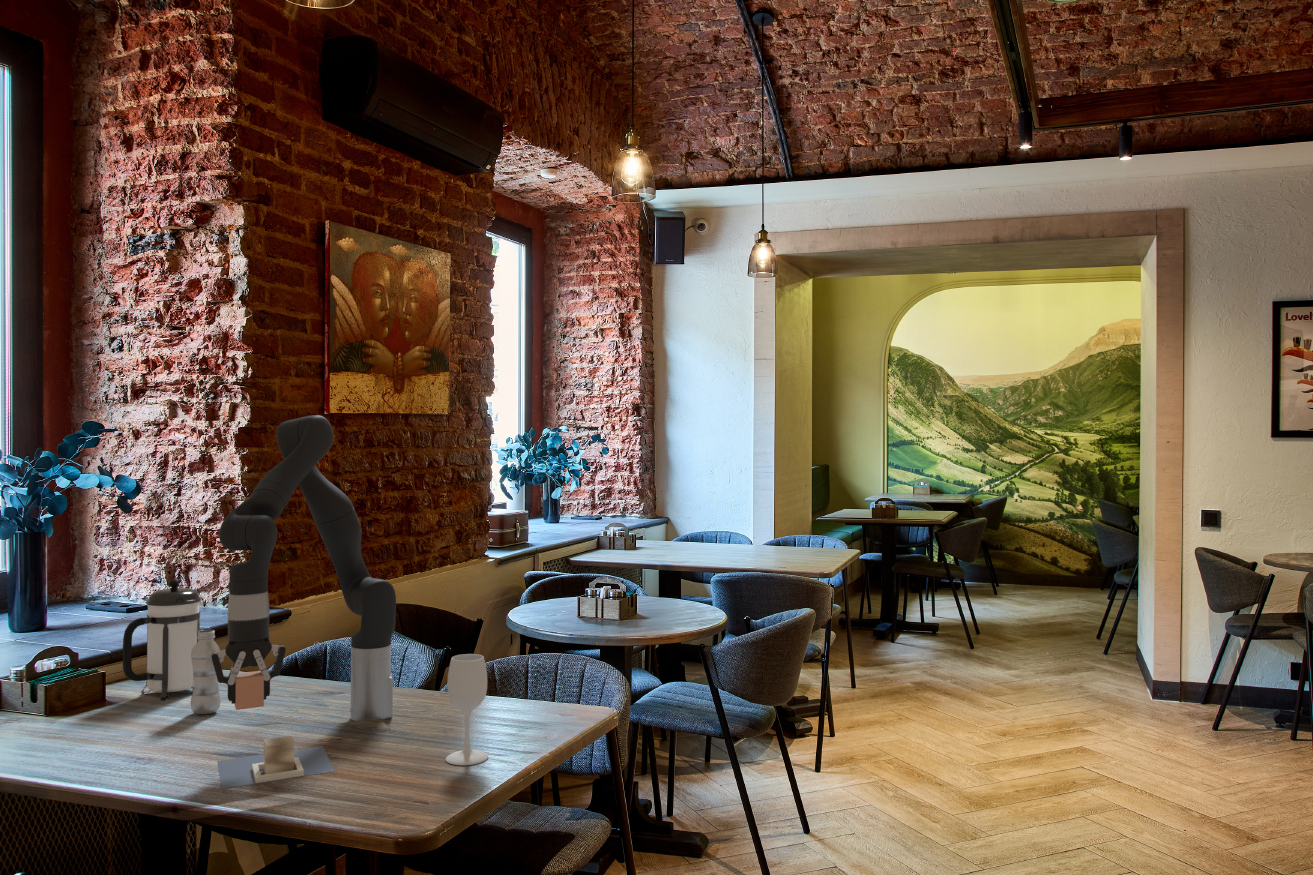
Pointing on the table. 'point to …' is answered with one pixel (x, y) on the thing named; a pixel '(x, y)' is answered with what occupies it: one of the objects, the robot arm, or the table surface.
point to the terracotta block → (249, 690)
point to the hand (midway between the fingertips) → (248, 700)
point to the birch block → (278, 754)
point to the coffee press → (167, 640)
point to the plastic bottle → (204, 675)
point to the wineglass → (467, 700)
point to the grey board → (253, 773)
